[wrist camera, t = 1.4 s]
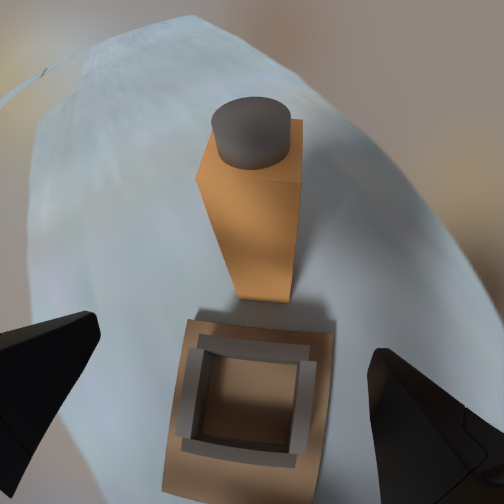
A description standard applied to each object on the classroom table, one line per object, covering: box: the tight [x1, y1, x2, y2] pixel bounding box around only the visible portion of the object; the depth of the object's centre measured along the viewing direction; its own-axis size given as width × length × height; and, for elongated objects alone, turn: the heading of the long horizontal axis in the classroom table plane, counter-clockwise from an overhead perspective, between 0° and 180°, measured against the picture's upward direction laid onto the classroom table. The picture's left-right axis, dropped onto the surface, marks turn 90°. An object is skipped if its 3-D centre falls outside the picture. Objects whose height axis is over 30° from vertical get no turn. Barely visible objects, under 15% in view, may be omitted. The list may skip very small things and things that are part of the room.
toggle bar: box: [195, 97, 303, 303], centre depth 17 cm, size 4×4×16 cm
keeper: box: [162, 319, 334, 504], centre depth 16 cm, size 14×11×4 cm
